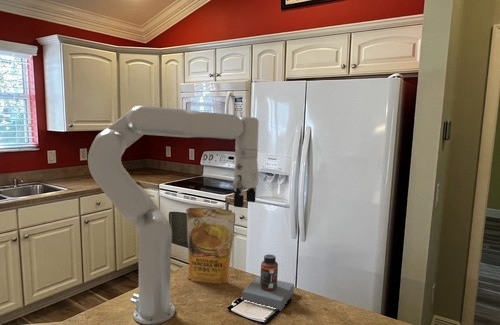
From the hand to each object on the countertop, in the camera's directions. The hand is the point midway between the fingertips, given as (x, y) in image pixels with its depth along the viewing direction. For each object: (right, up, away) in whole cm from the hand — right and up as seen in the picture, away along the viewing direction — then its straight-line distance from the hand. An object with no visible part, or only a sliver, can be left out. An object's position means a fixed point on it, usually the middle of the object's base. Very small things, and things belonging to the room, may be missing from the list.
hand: (244, 204), depth 115 cm
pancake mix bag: (-14, -32, +17) cm, 39 cm away
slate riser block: (+8, -33, +4) cm, 35 cm away
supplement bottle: (+8, -30, +4) cm, 31 cm away
